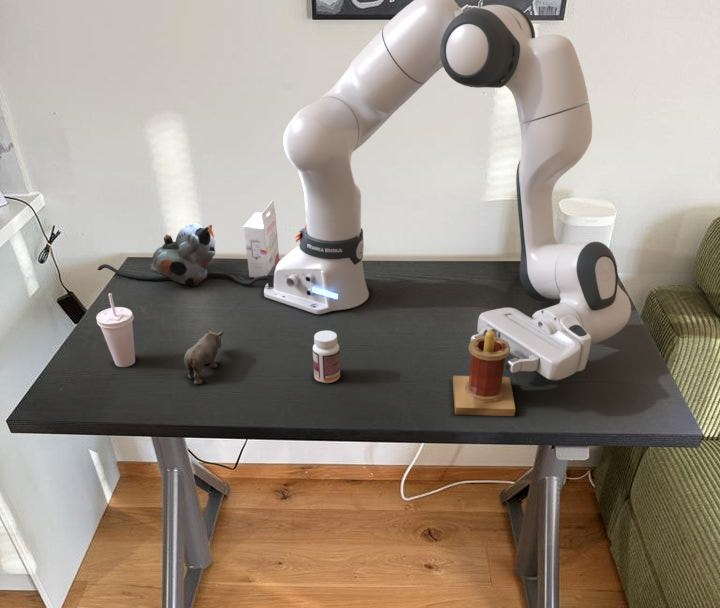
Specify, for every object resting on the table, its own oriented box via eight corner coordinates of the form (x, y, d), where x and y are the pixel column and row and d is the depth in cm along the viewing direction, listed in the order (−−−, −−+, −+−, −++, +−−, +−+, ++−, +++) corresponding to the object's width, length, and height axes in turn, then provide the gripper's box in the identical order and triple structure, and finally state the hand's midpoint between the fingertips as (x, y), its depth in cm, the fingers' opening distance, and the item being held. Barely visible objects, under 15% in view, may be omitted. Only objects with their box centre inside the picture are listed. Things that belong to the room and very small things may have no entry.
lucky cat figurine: (160, 262, 176) (181, 204, 170) (209, 285, 177) (230, 228, 172) (139, 271, 162) (160, 209, 157) (191, 296, 163) (214, 235, 158)
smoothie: (112, 374, 139) (94, 304, 130) (103, 358, 143) (86, 289, 134) (146, 365, 141) (131, 296, 132) (137, 349, 146) (122, 281, 137)
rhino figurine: (233, 348, 146) (230, 320, 142) (202, 386, 136) (198, 357, 132) (214, 345, 147) (210, 317, 143) (181, 383, 137) (176, 353, 133)
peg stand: (454, 414, 129) (461, 345, 120) (452, 382, 137) (458, 315, 128) (514, 416, 129) (525, 347, 120) (508, 384, 136) (518, 316, 128)
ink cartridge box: (259, 261, 176) (253, 197, 167) (280, 263, 175) (275, 199, 166) (247, 277, 170) (241, 212, 160) (269, 279, 169) (263, 214, 159)
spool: (460, 397, 130) (464, 351, 125) (471, 378, 135) (476, 333, 129) (497, 405, 128) (504, 359, 123) (507, 386, 133) (514, 340, 127)
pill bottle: (343, 372, 139) (343, 331, 134) (334, 385, 136) (333, 344, 131) (319, 367, 141) (318, 327, 135) (310, 381, 137) (307, 339, 132)
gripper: (515, 293, 138) (454, 312, 132) (598, 341, 124) (534, 364, 119) (511, 324, 142) (451, 344, 136) (591, 374, 128) (528, 398, 123)
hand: (490, 354), depth 127 cm, fingers open, 8 cm apart
